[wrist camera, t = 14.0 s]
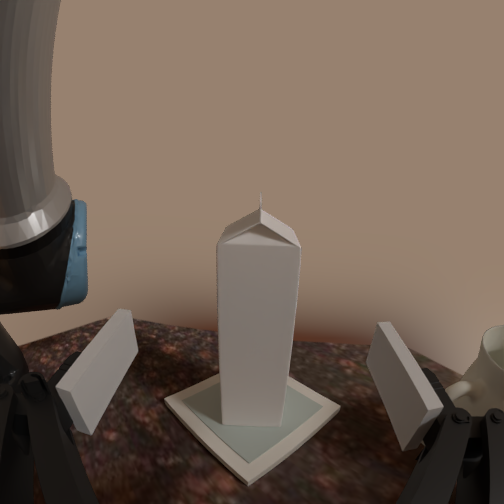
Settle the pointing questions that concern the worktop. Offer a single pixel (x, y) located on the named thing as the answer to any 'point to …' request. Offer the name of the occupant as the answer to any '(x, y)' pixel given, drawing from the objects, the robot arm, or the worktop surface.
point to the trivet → (251, 427)
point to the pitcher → (482, 377)
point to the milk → (256, 317)
